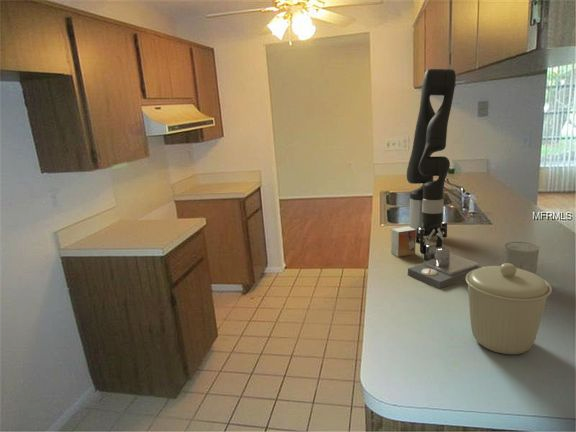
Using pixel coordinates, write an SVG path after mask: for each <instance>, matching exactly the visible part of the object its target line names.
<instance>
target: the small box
mask: <svg viewBox="0 0 576 432" xmlns="http://www.w3.org/2000/svg"><path fill="white" fill-rule="evenodd" d="M390 239H391V240H390V242H391V244H390V253H391V254H393V255H394V256H396V257H398V258H399V257H404V256H414V255H416V244H417V243H416V230H415V229H413V228H411V227H409V225H408V226H401V227H394V228H391V235H390Z"/></svg>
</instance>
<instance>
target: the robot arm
mask: <svg viewBox="0 0 576 432" xmlns="http://www.w3.org/2000/svg"><path fill="white" fill-rule="evenodd" d="M456 77H457V76H456V71H455V70H454V69H449V68H445V69H444V68H429V69H427V70H426V71H425V72H424V76H423V79H422V86H421V95H420V103H419V104H420V105H419V108H418V109H419V111H418V114H417V120H416V125H415V131H414V135H413V143H412V144H413V145H412V150H411V153H410V157H409V161H408V165H407V169H406V180H407V182H408V183H410V184H411V185H412V184H413V185H414V184H416V185H417V184H422V185H420V186H419V187H418V188H415V189H413V190H411V192H410V193H409V219H408V221H409V222H408V223H409V225H408V226H409V227H411V228H413V229H415V230H416V243H415V244H419V252H420V254H422V255H424V254H426V244H428V242H429V241H430V240H431V238H434V237H435V238H436V240H435V245H436V250H437V248H438V247H443V243H444V242H443V241H444V239H446V238H447V237H448V223H447V222H444V187H445V183H446V178H447V177H448V176H447V175H448V173H449V170H450V167H451V163H450V159H449V158H448V157H447V156H432V154H434V153H438V152H440V151H441V152H442V151H444V150H445V149H446V147H447V146H446V145H447V133H448V126H449V125H448V124H449V119H450V115H451V110H452V106H453V105H452V104H453V99H454V96H455V95H454V94H455V88H456V82H457V81H456V79H457V78H456ZM431 96H442V97H443V99H442V103H441V105H440V107H439V108H438V110H437V111H436V112H435V111H434V109H433V105H432V102H431V99H430V98H431ZM434 177H438V178H437V179H436V180H434Z"/></svg>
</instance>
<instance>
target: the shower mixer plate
mask: <svg viewBox="0 0 576 432" xmlns="http://www.w3.org/2000/svg"><path fill="white" fill-rule="evenodd" d="M422 264H423V265H426V266H428V267H431V268H433V269H436V270H438V271H441V272H443V273H446V274H448V275H454V274H457V273H460V272H463V271H465V270H468V269H471V268H474V267H477V266H480V265H479V262H477V261H473V260H471V259H467V258H464V257H462V256H459V255H456V254H454V253H450V264H449V267H445V268H443V267H438V266H436V258H434V259H431V260H428V261H423V263H422Z"/></svg>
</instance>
